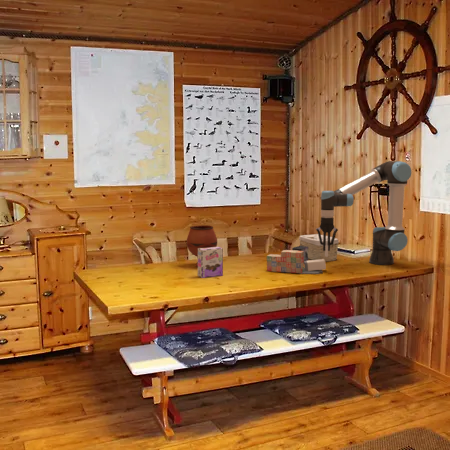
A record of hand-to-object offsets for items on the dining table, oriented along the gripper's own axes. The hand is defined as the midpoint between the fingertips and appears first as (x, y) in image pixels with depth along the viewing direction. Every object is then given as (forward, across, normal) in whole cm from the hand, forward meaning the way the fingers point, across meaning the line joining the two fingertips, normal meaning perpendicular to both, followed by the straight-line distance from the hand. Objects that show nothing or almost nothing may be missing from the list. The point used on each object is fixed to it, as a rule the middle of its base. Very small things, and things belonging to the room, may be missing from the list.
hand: (326, 256), depth 344 cm
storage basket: (+9, 0, -39) cm, 40 cm away
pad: (+9, +10, 0) cm, 13 cm away
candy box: (+10, +68, +14) cm, 70 cm away
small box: (+9, +13, -24) cm, 29 cm away
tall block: (+5, +1, 0) cm, 5 cm away
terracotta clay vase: (+10, +75, -14) cm, 77 cm away
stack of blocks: (+9, +24, +2) cm, 26 cm away
